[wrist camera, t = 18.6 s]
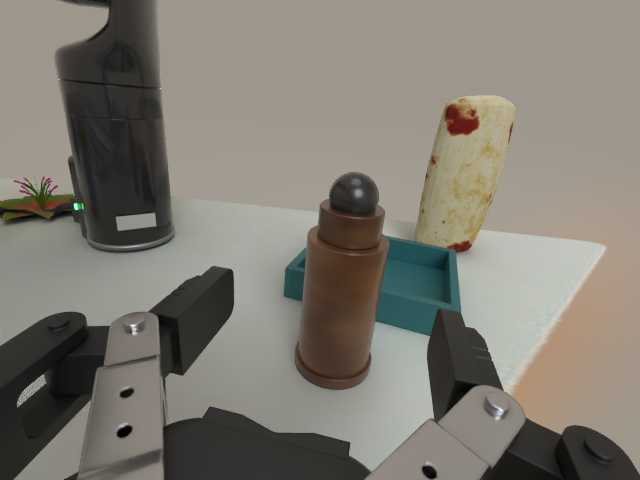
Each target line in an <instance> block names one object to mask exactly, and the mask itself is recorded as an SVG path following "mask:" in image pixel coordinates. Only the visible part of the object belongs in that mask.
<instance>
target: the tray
mask: <svg viewBox="0 0 640 480" xmlns="http://www.w3.org/2000/svg"><path fill="white" fill-rule="evenodd" d="M385 237H387V239H388V240H389V244H390V245H389V251H388V256H387V261H386V267H385V272H384V278H383V283H382V288H381V294H380V299H379V305H378V310H377V316H376V321H379V322H382V323H386V324H390V325H393V326H397V327H401V328H404V329H408V330H412V331H416V332H419V333H423V334H427V335H430V336H431V332H432V328H433V324H434V320H435V316H436V313H437V310H438V309H439V308H442V309H447V310H453V311H458V312H461V305H460V294H459V283H458V272H457V260H456V250H453V249H448V248H444V247H439V246H434V245H429V244H424V243H419V242H414V241H409V240H404V239H399V238H394V237H389V236H385ZM306 249H307V247H306V248H305V249H304V250H303V251H302V252H301V253H300V254H299V255H298V256H297V257H296V258H295V259H294V260H293V261H292V262H291V263H290V264H289V265H288V266H287V267H286V270H285V288H284V296H286V297H290V298H294V299H297V300H301V301H302V299H303V286H304V274H305V262H306Z"/></svg>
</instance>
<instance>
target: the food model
mask: <svg viewBox="0 0 640 480" xmlns="http://www.w3.org/2000/svg"><path fill="white" fill-rule="evenodd" d="M514 117H515V106H514V105H513V104H512V103H511V102H509V101H508V100H506V99H504V98H503V97H501V96H490V95H481V96H464V97H462V98H459V99H456V100H454V101H448V102H447V103H446V105H445V108H444V111H443V114H442V117H441V121H440V124H439V128H438V131H437V135H436V138H435V142H434V146H433V149H432V153H431V157H430V160H429V164H428V169H427V173H426V179H425V184H424V189H423V193H422V198H421V203H420V210H419V217H418V222H417V227H416V232H415V241H416V242H419V243H424V244H429V245H434V246H439V247H444V248H448V249H453V250H456V251H466V250H468V249H469V248H470V247H471V246H472V244H473V242H474V240H475V239H476V237H477V235H478V232H479V230H480V228H481V226H482V223H483V221H484V218H485V216H486V214H487V211H488V209H489V206H490V204H491V202H492V199H493V196H494V194H495V191H496V188H497V186H498V183H499V179H500V175H501V172H502V168H503V165H504V162H505V157H506V153H507V149H508V144H509V140H510V136H511V131H512V127H513V122H514Z"/></svg>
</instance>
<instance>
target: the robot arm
mask: <svg viewBox="0 0 640 480" xmlns="http://www.w3.org/2000/svg"><path fill="white" fill-rule="evenodd" d="M58 1H62V2H64V3H68V4H73V5H79V6H87V7H95V8H103V9H109V15H108V20H107V22H106V24H105V25H104V26H103V27H102V28H101V29H100V30H99V31H97V32H96V33H94V34H93V35H91V36H89V37H88V38H85V39H83V40H80V41H76V42H73V43H69V44H66V45H63V46H60V47H58V48H57V49H56V50H55V53H54V62H55V68H56V73H57V78H58V79H60V80H58V83H59V88H60V93H61V99H62V104H63V109H64V112H65V119H66V124H67V129H68V134H69V139H70V144H71V150H72V156H70V157H69V158H68V164H69V169H70V174H71V179H72V184H73V189H74V194H75V197H73V198H70V202H68V203H62V204H59V205H57V206H56V207H55V208H53V209H45V210H42V211H45V212H55V213H53V215H52V216H54V215H58V214H60V213H61V212H62V211H64V210H68V209H72V213H73V218H74V222H78V223H80V224H81V230H82V235H83V237H86V238H87V240H88V243H89V244H90V245H91V246H93V247H95V248H97V249H101V250H106V251H135V250H142V249H147V248H152V247H155V246H158V245H161V244H163V243H165V242H167V241H169V240H170V239H171V238H172V237H173V236H174V227H173V223H172V210H171V196H170V184H169V173H168V161H167V149H166V137H165V125H164V115H163V103H162V91H161V89H159V88H161V81H160V50H159V37H158V14H157V0H58ZM0 209H4V210H0V214H4V213H5V212H9V211H15V212H20V213H25V214H30V213H34V212H31V211H28V210H17V209H7V207H0ZM26 216H35V217H41V215H39V214H33V215H26ZM233 306H234V275H233V271H232V270H231V269H227V268H222V267H217V266H212V267H211V268H210V269H209V270H207V271H206V272H205V273H204V274H203V275H202V276H199V275H198V276H196V277H193V278H191V279H189V280H186V281H185V282H184V283H183V284H181V285H180V286H179V287H178V289H175V290H174V291H173V292H172V293H171V295H168V296H167V297H166V298H164V299H163V300H162V301H161V302H159V303H158V304H157V305H156V306H155V307H153V308H152V309H151V310H150V311H148V312H135V313H130V314H127V315H124V316H122V317H120V318H118V319H117V320H115V321H114V322H113V323H112V324H111V326H87V321H86V317H85V315H83V314H81V313H78V312H63V313H58V314H54V315H51V316H48V317H46V318H44V319H42V320H40V321H39V322H37V323H35V324H34V325H32V326H31V327H29V328H28V329H26V330H25V331H23V332H21V333H20V334H18V335H17V336H15V337H14V338H12V339H10V340H9V341H7V342H6V343H4V344H3V345H1V346H0V480H13V479H14V478H15V477H16V476H17V475H18V474H19V473H20V472H21V471H22V470H23V469H24V468H25V467H26V466H27V465H28V464H29V463H30V462H31V461H32V460H33V459H34V458H35V457H36V456H37V455H38V454H39V453H40V451H41V450H42V449H43V448H44V447H45V446H46V445H47V444H48V443H49V442H50V441H51V440H52V439H53V438H54V437H55V436H56V435H57V434H58V433H59V432H60V431H61V430H62V429H63V428H64V427H65V426H66V425H67V424H68V423H69V421H70V420H71V419H72V418H73V417H74V416H75V415H76V414H77V413H78V412H79V411H80V410H81V409H82V408H83V407H84V406H85V405H86V404H87V403H88V402H89V401H90V400H91V404H90V410H89V415H88V421H87V427H86V432H85V438H84V444H83V450H82V455H81V461H80V467H79V472H77V473H75V474H74V475H72V476H70V477H68V478H66V479H64V480H640V475H639V473H638V472H637V470H636V468H635V467H634V465H633V463H632V462H631V460H630V459H629V457H628V456H627V455H626V453H625V452H624V451H623V450H622V449H621V448H620V447H619V446H618V445H616V444H615V443H614V442H613V441H611V440H610V439H609V438H607V437H605V436H604V435H602V434H601V433H599V432H597V431H594V430H592V429H590V428H587V427H583V426H576V425H574V426H569V427H567V428H565V430H564V431H563V433H562V435H560V434H558V433H556V432H553V431H551V430H549V429H547V428H545V427H543V426H541V425H538V424H536V423H534V422H532V421H531V420H529V419H527V418H526V417H525V413H524V410H523V408H522V407H521V405H520V404H519V403H518V402H517V401H516V400H515V399H514V398H513V397H512V396H510V395H509V394H508V393H506V392H504V390H503V388H502V385H501V382H500V380H499V377H498V374H497V372H496V369H495V366H494V364H493V361H491V359H492V358H491V356H490V353H489V352H488V348H487V345H486V343H485V340H484V338H483V337H482V336H481V335H480V334H479V333H478V332H477V331H476V330H475V329H474V328H469V327H465V324H464V321H463V318H462V314H461V312H458V311H453V310H447V309H442V308H439V309H438V310H437V313H436V316H435V320H434V324H433V328H432V332H431V336H430V339H429V344H428V350H427V362H428V370H429V379H430V387H431V395H432V404H433V412H434V419H432V418H431V419H428V420H427V421H426V422H425V423H423V424H422V425H421V426H420V427H419V428H418V429H417V430H416V431H415V432H414V433H413V434H412V435H411V436H410V437H409V438H408V439H407V440H405V441H404V442H403V443H402V444H401V445H400V446H399V447H398V448H397V449H396V450H395V451H394V452H393V453H392V454H391V455H390V456H389V457H387V458H386V459H385V460H384V461H383V462H382V463H381V464H380V465H379V466H378V467H377V468H376V469H375V470H374V471H373V472H371V471H370V470H369V469H367V468H366V467H365V466H364V465H363V464H361V463H360V462H359V461H357V460H356V459H354V458H352V457H351V456H349V449H350V442H346V441H342V440H338V439H335V438H331V437H327V436H323V435H319V434H315V433H276V432H273V431H270V430H269V429H267V428H265V427H263V426H261V425H260V424H258V423H256V422H254V421H253V420H251V419H249V418H247V417H245V416H244V415H241V414H237V413H233V412H230V411H226V410H222V409H218V408H214V407H209V408H208V410H207V412H206V413H205V415H204V416H203V418H193V419H186V420H182V421H178V422H175V423H172V424H168V409H167V393H166V381H165V378H166V377H167V376H168V374H169V373H174V374H178V375H182V376H183V375H184V374H185V372H186V371H187V370H188V369H189V367H190V366H191V365H192V364H193V362H194V361H195V360H196V359H197V357H198V356H199V355H200V354H201V352H202V351H203V350H204V349H205V347H206V346H207V345H208V344H209V342H210V341H211V340H212V339H213V337H214V336H215V335H216V334H217V332H218V331H219V330H220V329H221V327H222V326H223V325H224V324H225V322H226V321H227V320H228V319H229V317H230V315H231V313H232V310H233ZM42 374H44V376H45V380H46V384H45V385H44V386H43V387H41V388H40V389H39V390H38V391H37V392H36V393H34V394H33V395H32V396H31V397H30V398H28V399H27V400H26V401H25V402H24V403H23V404H21V405H20V406H19V407H18V408H17V401H18V398H19V396H20V394H21V393H22V392H23V390H24V389H25V388H26V387H28V386H29V385H30V384H31V383H32V382H34V381H35V380H36V379H37V378H39V377H40V376H41V375H42Z"/></svg>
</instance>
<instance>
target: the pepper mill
mask: <svg viewBox="0 0 640 480" xmlns="http://www.w3.org/2000/svg"><path fill="white" fill-rule="evenodd" d="M378 201H379V192H378V188H377V187H376V184H375V183H374V181H373V180H372V179H371V178H370V177H369V176H367V175H365V174H362V173H359V172H350V173H346V174H344V175H342V176H340V177H339V178H338V179H336V181H335V182H334V183H333V185H332V187H331V189H330V193H329V199H327V200H324V201H323V202H321V204H320V210H319V220H318V226H315V227H313V228H312V229H310V231H309V232H308V237H307V249H306V262H305V274H304V286H303V299H302V311H301V323H300V336H299V341H298V343H297V346H296V351H295V363H296V366H297V368H298V370H299V372H300V373H301V374H302V375H303V377H305V378H306V379H307V380H308V381H310V382H311V383H313V384H315V385H318V386H320V387H323V388H328V389H347V388H350V387H353V386H356V385H357V384H359V383H360V382H362V381H363V380H364V379H365V378H366V376H367V375H368V372H369V369H370V363H371V354H370V348H371V343H372V337H373V332H374V326H375V321H376V316H377V310H378V305H379V299H380V294H381V288H382V283H383V278H384V272H385V267H386V261H387V256H388V251H389V245H390V244H389V240H388V239H387V237H385V236H384V235H383V234H382V228H383V223H384V217H385V210H384V209H383V208H382V207H380V206H379V205H378Z"/></svg>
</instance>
